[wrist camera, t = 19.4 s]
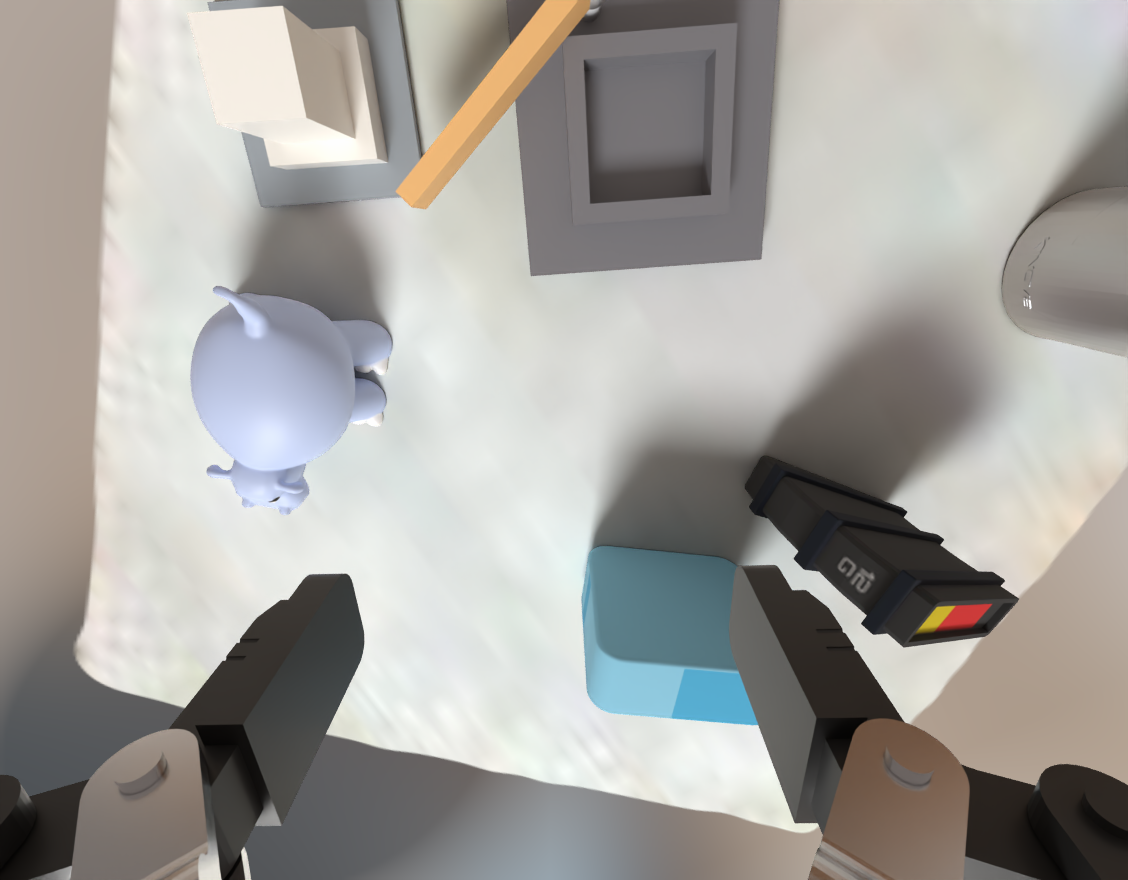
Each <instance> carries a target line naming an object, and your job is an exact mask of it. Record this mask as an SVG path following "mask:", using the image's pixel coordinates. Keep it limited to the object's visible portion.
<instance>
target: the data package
mask: <svg viewBox="0 0 1128 880" xmlns="http://www.w3.org/2000/svg"><path fill="white" fill-rule="evenodd" d="M736 568H737V566H736V565H735V564H734V563H732V562H730V561H728V560H726V559H724V558H720V557H714V556H704V555H694V554H684V553H674V552H664V551H654V550H644V549H634V548H624V547H613V546H600V547H596V548H594V549H593V550H592V551H591V552H590V553H589V556H588V562H587V568H586V574H585V581H584V587H583V593H582V616H583V633H584V650H585V667H586V684H587V692H588V695H589V698H590V699H591V701H592V702H593V703H594V704H595V705H596V706H597V707H598V708H600V709H601V710H603V711H606V712H608V713H613V714H624V715H636V716H648V717H660V718H672V719H684V720H697V721H709V722H721V723H733V724H745V725H758V723H757V720H756V717H755V714H754V712H753V709H752V706H751V704H750V701H749V698H748V696H747V693H746V690H745V687H744V685H743V682H742V679H741V677H740V674H739V671H738V669H737V666H736V663H735V661H734V658H733V654H732V651H731V646H730V639H729V621H730V611H731V602H732V592H733V583H734V574H735V570H736Z"/></svg>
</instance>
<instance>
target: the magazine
mask: <svg viewBox="0 0 1128 880" xmlns="http://www.w3.org/2000/svg"><path fill="white" fill-rule="evenodd" d="M745 489H746V490H747V492H748V493H749V494H750V496H751V497H752V498H753V501H752V502H751V504H750V506H749V508H750V509H751V510H752V512H753V513H754V514H755V515H758V516H761V517H765V518H768V519H769V520H770V521H771V522H772V523H773V524H774V526H775V527H776V528H777V529H778V530H779V531H780V533H781V534H782V535H783V536H784V537H785V538H786V539H787V540H788V541H789V542H790V543H791V544H792V545H793V546H794V547H795V548H796V549H797V550H798V553H797V554H796V556H795V557H794V560H795V561H796V562H797V563H798V564H799V565H800V566H801V567H802V568H803V569H804V570H812V571H819V572H820V573H821V574H822V575H823V576H824V577H825V578H826V579H827V580H828V581H829V582H830V583H831V584H832V585H833V586H834V587H835V588H836V589H837V590H838V591H839V592H841V593H842V594H843V595H844V596H845V597H846V598H847V599H849V600H850V601H851V602H852V603H853V604H854V605H856V606H857V607H858V608H859V609H860V610H861V611H862V612H864V613H865V614H866V615H867V616H866V618H865V619H864V620H863V622H862V623H861V624H862V625H863V626H864V627H865V628H866V629H867V630H869V631H870V632H871V633H872V634H873V635H876V634H886V633H888V634H889V635H890V636H891V637H892V638H893V639H895V640H896V641H897V642H898V643H899V644H900V645H901V646H903V647H911V646H918V645H926V644H933V643H941V642H948V641H956V640H963V639H971V638H978V637H985V636H987V635H988V634H989V633H990V632H991V631H992V630H993V629H994V628H995V627H996V626H997V624H998V623H999V622H1000V621H1001V620H1002V619H1003V618H1004V617H1005V615H1006V614H1007V613H1008V612H1009V611H1010V610H1011V609H1012V608H1013V606H1014V605H1015V604H1016V603H1017V602H1018V600H1019V598H1017V597H1016V596H1014V595H1013V594H1011V593H1010V592H1008V591H1007V590H1005V589H1004V588H1002V587H1001V585H1002V584H1003V583H1004V582H1005V580H1004V579H1003V578H1001V577H1000V576H998V575H997V574H995V573H993V572H978V571H977V570H975V569H974V568H972V567H971V566H969V565H968V564H966V563H965V562H963V561H962V560H960V559H959V558H957V557H956V556H954V555H953V554H952V553H950V552H949V551H947V550H946V549H945V548H943V547H942V546H940V545H941V543H942V542H943V541H944V539H943V538H942V537H940V536H939V535H937V534H932V533H928V532H924V531H920V530H919V529H917V528H916V527H915V526H914V525H912V524H911V523H910V522H908V521H907V520H906V519H905V518H903V517H904V516H905V515H906V513H907V511H906V510H904V509H903V508H902V507H899V506H896V505H893V504H890V503H887V502H885V501H883V500H880V499H878V498H875V497H873V496H870V495H867V494H865V493H862V492H860V491H857V490H854V489H852V488H849V487H847V486H844V485H841V484H839V483H836V482H834V481H831V480H828V479H826V478H823V477H821V476H818V475H815V474H813V473H810V472H808V471H805V470H802V469H800V468H797V467H795V466H792V465H789V464H787V463H784V462H782V461H779V460H777V459H774V458H771V457H769V456H763V457H762V458H761V459H760V461H759V463H758V464H757V466H756V468H755V470H754V471H753V473H752V475H751V476H750V478H749V480H748V481H747V483H746V485H745Z"/></svg>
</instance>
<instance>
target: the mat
mask: <svg viewBox="0 0 1128 880" xmlns="http://www.w3.org/2000/svg"><path fill="white" fill-rule="evenodd" d="M207 3H208V6H209V10H210V11H219V10H232V9H246V8H259V7H273V6H284V7H285V8H286V9H287V10H289V11H290V12H291V13H292V14H294V15H295V16H296V17H297V18H298V19H300V20H301V21H302V22H303V23H305V24H306V25H307V26H308V27H310V28H311V29H324V28H338V27H351V26H355V27H356V28H357V29H358V30H359V31H360V32H361V33H362V34H363V35H364V36H365V37H366V38H367V39H368V44H369V50H370V56H371V62H372V68H373V74H374V80H375V86H376V92H377V98H378V104H379V110H380V116H381V122H382V128H383V134H384V140H385V146H386V152H387V158H388V163H378V164H363V165H349V166H334V167H320V168H305V169H290V170H286V169H282V168H277V167H272V166H270V163H269V159H268V155H267V151H266V147H265V143H264V139H263V138H261V137H257V136H254V135H251V134H247V133H244V132H241V133H242V136H243V140H244V144H245V148H246V152H247V156H248V159H249V163H250V167H251V171H252V175H253V179H254V182H255V186H256V190H257V194H258V198H259V202H260V205H261V207H277V206H290V205H303V204H317V203H330V202H343V201H357V200H370V199H383V198H397V197H401V196H400V195H399V194H397V193H396V192H395V191H396V190H397V189H398V187H399V186H400V185H401V183H402V182H403V181H404V180H405V178H406V177H407V176H408V175H409V173H410V172H411V171H412V169H413V168H414V167H415V166H416V164H417V163H418V162H419V161H420V159H421V158H422V156H421V150H420V143H419V137H418V130H417V123H416V117H415V110H414V103H413V97H412V90H411V84H410V77H409V70H408V64H407V57H406V50H405V44H404V37H403V31H402V24H401V17H400V11H399V4H398V0H230V1H218V2H207Z"/></svg>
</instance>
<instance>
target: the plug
mask: <svg viewBox="0 0 1128 880" xmlns="http://www.w3.org/2000/svg"><path fill="white" fill-rule="evenodd" d="M187 15H188V19H189V23H190V26H191V30H192V34H193V38H194V41H195V45H196V49H197V52H198V56H199V60H200V64H201V67H202V71H203V75H204V78H205V82H206V86H207V90H208V93H209V97H210V101H211V104H212V108H213V112H214V116H215V119H216V123H217V124H218V125H221V126H224V127H228V128H231V129H234V130H238V131H241V132H244V133H247V134H251V135H254V136H257V137H261V138H263V139H264V143H265V147H266V151H267V155H268V159H269V163H270V166H272V167H277V168H282V169H286V170H290V169H305V168H320V167H334V166H349V165H363V164H378V163H388V158H387V152H386V146H385V140H384V134H383V128H382V122H381V116H380V110H379V104H378V98H377V92H376V86H375V80H374V74H373V68H372V62H371V56H370V50H369V44H368V39H367V38H366V37H365V36H364V35H363V34H362V33H361V32H360V31H359V30H358V29H357V28H356V27H355V26H351V27H338V28H324V29H311V28H310V27H308V26H307V25H306V24H305V23H303V22H302V21H301V20H300V19H298V18H297V17H296V16H295V15H294V14H292V13H291V12H290V11H289V10H287V9H286V8H285V7H284V6H273V7H259V8H246V9H232V10H219V11H205V12H191V13H187Z"/></svg>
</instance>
